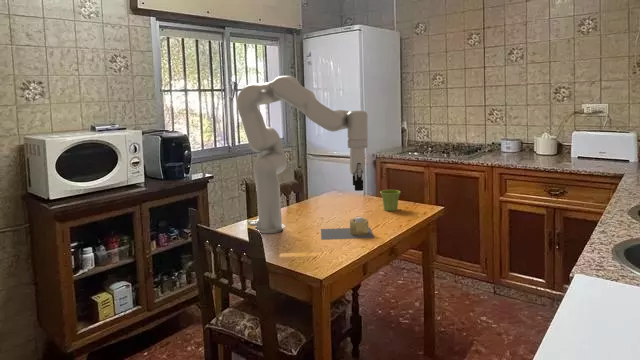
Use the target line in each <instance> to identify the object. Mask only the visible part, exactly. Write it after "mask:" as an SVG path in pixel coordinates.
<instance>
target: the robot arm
mask: <svg viewBox="0 0 640 360" xmlns="http://www.w3.org/2000/svg"><path fill="white" fill-rule="evenodd" d="M236 98H237V100H236V107H237V108H236V109H237V111H238V114H239V117H240V119H241V122H242V124H243V125H242V126H243V129H244V133H245V137H246V139H247V142H248V144H249V145H248V146H249V147H250V149H251V150H252V151H253V152H256V153H261V152H262V155H259V156H258V157H257V158H256V159H255V161H254V163H253V167H252V168H253V170H252V171H253V175H254V180H255V185H256V187H255V189H256V199H257V201H256V202H257V219H255V220H252V219H251V220H248V221H247V226H250V227H255V228H254V230H255V229H257V230H259V231H260V232H261V233H260V234H276V233H280V232H283V230H284V229H285V227H286V224H284V223H283V222H282V205H281V203H282V202H281V189H280V187H281V186H280V181H279V177H278V175H279V174H281V173H283V172H284V171H285V169H286V168H287V166H288V165H287V164H288V162H287V156H286V153H285V150H284V146H283V144H282V140H281V137H280V134H279V133H278V132H277V130H276V129H275V128H273V127H271V126H266V124H265V120H264V117H263V114H262V112H261V111H260V109H259V106H261V105H268V104H272V103H276V102H277V103H278V102H280V101H284V102H285V103H287V104H289V105H291V106H292V107H294V108H295V109H297V110H298V111H300V112H302V113H303V115H305V116H306V118H308V120H310V121H312V122H313V123H314V124H316V125H318V126H320V127H321V128H323V129H325V130H326V131H328V132H329V131H330V132H338V131H342V130H346V129H347V148H348V149H350V150H349V172H350V174H351V175H352V186H354V191H356V192H358V191H359V192H361V191H364V177H363V175H364V174H365V163H366V162H365V157H366V155H365V154H366V153H365V151H366V150H365V149H368V144H369V143H368V113H367V112H366V111H365V110H344V109H337V110H333V109H330V108H329V107H327V106H326V105H325V104H323V103H321V102H320V101H319V100H318V99H317V97H316V95H315V93H314V92H313V91H312V90H309V89H308V88H306V87H304V86H302V85H301V84H300V81H299V80H298V79H297V78H296V77H294V76H291V75H280V76H278V77H275V78H274V79H273V80H272V81H269V82H268V81H267V82H265V83H259V82H258V83H250V84H248V85H245V86H244V87H243V88H242V89H241V90H240V92H239V93H238V96H237V97H236Z"/></svg>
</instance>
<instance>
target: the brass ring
mask: <svg viewBox="0 0 640 360" xmlns="http://www.w3.org/2000/svg"><path fill="white" fill-rule="evenodd" d="M355 218H356V217H354V218H351V219H349V228H350V234H351V235H356V236H361V235H366V234H369V232H368V227H369V219H368V218H364V217H363V222H355Z"/></svg>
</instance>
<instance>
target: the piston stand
mask: <svg viewBox="0 0 640 360" xmlns="http://www.w3.org/2000/svg"><path fill="white" fill-rule="evenodd" d="M354 218H355V222H363V218H364V217H362V216H355V217H354ZM368 232H369V234H366V235H361V236H356V235H351V234H350V227H345V228H344V227H343V228H342V227H341V228H321V229H320V237H321V241H323V240H325V241H326V240H351V239H353V240H354V239H355V240H357V239H374V238H375V236H374V233H373V230H372V229H371V227H369V226H368Z"/></svg>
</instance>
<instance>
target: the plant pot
mask: <svg viewBox="0 0 640 360" xmlns="http://www.w3.org/2000/svg"><path fill="white" fill-rule="evenodd" d="M379 193H380V195H381V198H382V206H383V210H384V211H389V212H395V211H397V210H398V206H399V198H400V194H401V191H400V190H398V189H384V190H380V192H379Z"/></svg>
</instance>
